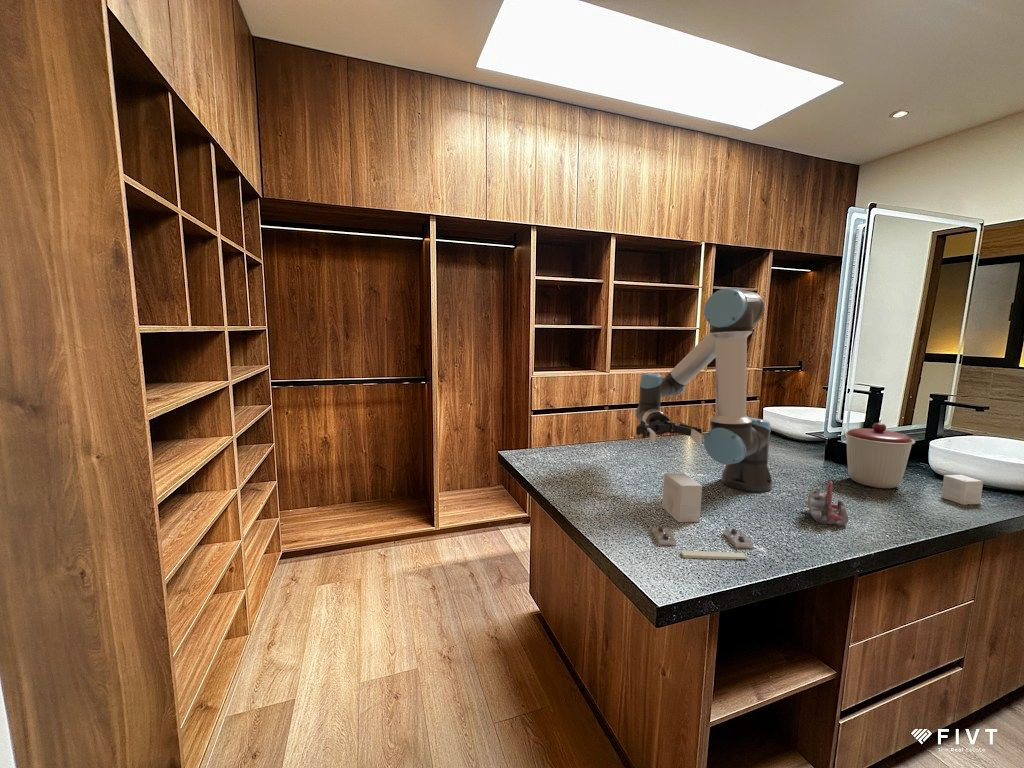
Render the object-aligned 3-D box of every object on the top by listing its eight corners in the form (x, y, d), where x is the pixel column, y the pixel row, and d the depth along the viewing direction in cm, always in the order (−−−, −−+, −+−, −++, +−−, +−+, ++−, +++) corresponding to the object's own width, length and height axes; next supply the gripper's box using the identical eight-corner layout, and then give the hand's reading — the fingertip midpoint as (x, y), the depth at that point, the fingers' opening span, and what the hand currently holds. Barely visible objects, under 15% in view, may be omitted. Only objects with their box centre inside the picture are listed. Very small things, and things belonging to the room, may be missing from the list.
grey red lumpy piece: (862, 525, 107) (830, 483, 110) (818, 540, 113) (788, 500, 116) (856, 509, 117) (827, 472, 119) (815, 525, 122) (788, 488, 125)
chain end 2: (739, 534, 107) (739, 527, 107) (753, 548, 100) (753, 541, 100) (723, 533, 108) (723, 527, 107) (735, 547, 101) (736, 540, 100)
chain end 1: (667, 531, 109) (667, 525, 108) (676, 545, 102) (676, 538, 101) (651, 531, 109) (652, 524, 109) (659, 544, 102) (659, 537, 102)
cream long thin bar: (742, 555, 97) (742, 552, 97) (746, 559, 95) (747, 557, 95) (680, 553, 98) (680, 550, 98) (683, 557, 96) (683, 555, 96)
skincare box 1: (701, 522, 114) (703, 485, 113) (678, 523, 114) (680, 485, 113) (682, 506, 125) (684, 472, 124) (661, 507, 124) (663, 472, 123)
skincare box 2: (981, 504, 126) (984, 481, 125) (962, 505, 126) (965, 481, 125) (958, 496, 132) (961, 474, 131) (940, 497, 132) (943, 474, 131)
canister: (905, 497, 131) (913, 432, 129) (834, 482, 145) (839, 422, 142) (912, 484, 143) (919, 423, 141) (846, 471, 157) (851, 415, 154)
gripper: (691, 433, 146) (718, 451, 125) (619, 431, 147) (634, 449, 126) (693, 412, 145) (721, 427, 124) (620, 410, 146) (635, 424, 125)
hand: (677, 438), depth 125 cm, fingers open, 13 cm apart
